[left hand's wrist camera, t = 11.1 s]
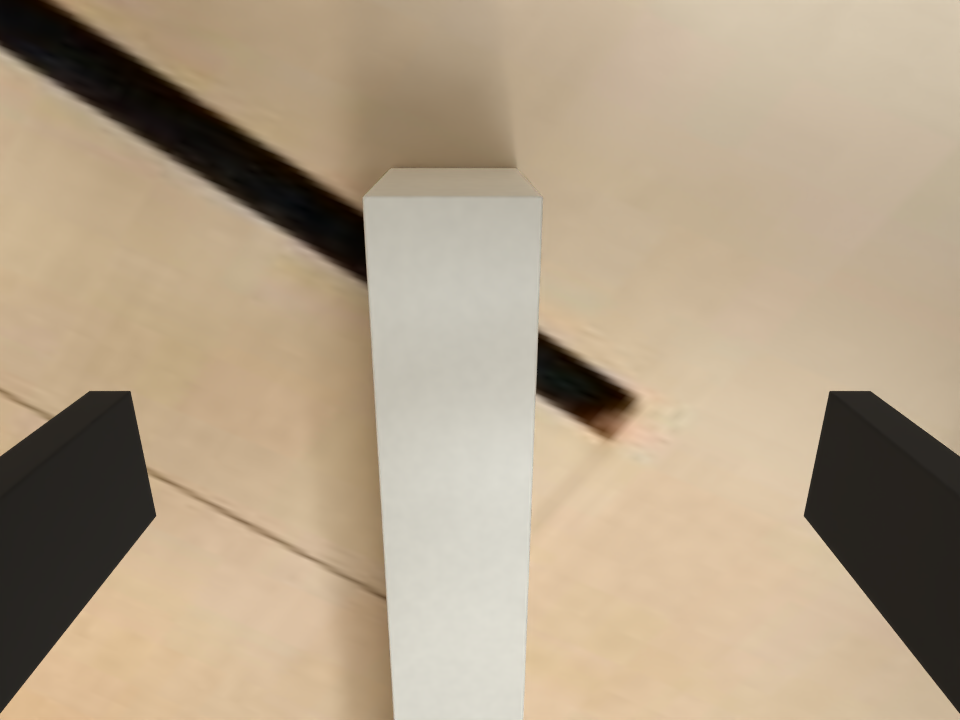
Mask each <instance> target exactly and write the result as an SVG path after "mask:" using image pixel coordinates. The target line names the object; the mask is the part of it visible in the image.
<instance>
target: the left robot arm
mask: <svg viewBox="0 0 960 720" xmlns="http://www.w3.org/2000/svg"><path fill="white" fill-rule="evenodd" d="M155 517H156V512H155V507H154V503H153V498H152V493H151V488H150V483H149V479H148V474H147V469H146V464H145V459H144V454H143V450H142V445H141V440H140V435H139V430H138V425H137V421H136V416H135V411H134V406H133V401H132V397H131V392H130V391H89V392H88V393H86V394H85V395H84V396H82V397H81V398H80V399H78V400H77V401H75V402H74V403H73V404H71V405H70V406H69V407H67V408H66V409H65V410H63V411H62V412H60V413H59V414H58V415H56V416H55V417H54V418H52V419H51V420H50V421H48V422H47V423H45V424H44V425H43V426H41V427H40V428H39V429H37V430H36V431H34V432H33V433H32V434H30V435H29V436H28V437H26V438H25V439H24V440H22V441H21V442H19V443H18V444H17V445H15V446H14V447H13V448H11V449H10V450H9V451H7V452H6V453H4V454H3V455H2V456H0V713H1V712H2V711H3V709H4V708H5V707H6V706H7V704H8V703H9V702H10V700H11V699H12V698H13V697H14V695H15V694H16V693H17V692H18V690H19V689H20V688H21V687H22V685H23V684H24V683H25V681H26V680H27V679H28V678H29V676H30V675H31V674H32V673H33V671H34V670H35V669H36V668H37V666H38V665H39V664H40V662H41V661H42V660H43V659H44V657H45V656H46V655H47V654H48V652H49V651H50V650H51V649H52V647H53V646H54V645H55V643H56V642H57V641H58V640H59V638H60V637H61V636H62V635H63V633H64V632H65V631H66V630H67V628H68V627H69V626H70V624H71V623H72V622H73V621H74V619H75V618H76V617H77V616H78V614H79V613H80V612H81V611H82V609H83V608H84V607H85V605H86V604H87V603H88V602H89V600H90V599H91V598H92V597H93V595H94V594H95V593H96V592H97V590H98V589H99V588H100V586H101V585H102V584H103V583H104V581H105V580H106V579H107V578H108V576H109V575H110V574H111V573H112V571H113V570H114V569H115V567H116V566H117V565H118V564H119V562H120V561H121V560H122V559H123V557H124V556H125V555H126V553H127V552H128V551H129V550H130V548H131V547H132V546H133V545H134V543H135V542H136V541H137V540H138V538H139V537H140V536H141V534H142V533H143V532H144V531H145V529H146V528H147V527H148V526H149V524H150V523H151V522H152V521H153V519H154V518H155ZM804 517H805V518H806V519H807V521H808V522H809V523H810V524H811V526H812V527H813V528H814V529H815V531H816V532H817V533H818V534H819V536H820V537H821V538H822V540H823V541H824V542H825V543H826V545H827V546H828V547H829V548H830V550H831V551H832V552H833V553H834V555H835V556H836V557H837V559H838V560H839V561H840V562H841V564H842V565H843V566H844V567H845V569H846V570H847V571H848V572H849V574H850V575H851V576H852V578H853V579H854V580H855V581H856V583H857V584H858V585H859V586H860V588H861V589H862V590H863V592H864V593H865V594H866V595H867V597H868V598H869V599H870V600H871V602H872V603H873V604H874V605H875V607H876V608H877V609H878V611H879V612H880V613H881V614H882V616H883V617H884V618H885V619H886V621H887V622H888V623H889V624H890V626H891V627H892V628H893V630H894V631H895V632H896V633H897V635H898V636H899V637H900V638H901V640H902V641H903V642H904V643H905V645H906V646H907V647H908V649H909V650H910V651H911V652H912V654H913V655H914V656H915V657H916V659H917V660H918V661H919V662H920V664H921V665H922V666H923V668H924V669H925V670H926V671H927V673H928V674H929V675H930V676H931V678H932V679H933V680H934V681H935V683H936V684H937V685H938V687H939V688H940V689H941V690H942V692H943V693H944V694H945V695H946V697H947V698H948V699H949V700H950V702H951V703H952V704H953V706H954V707H955V708H956V709H957V711H958V712H959V713H960V456H958V455H957V454H956V453H954V452H953V451H951V450H950V449H949V448H947V447H946V446H945V445H943V444H942V443H941V442H939V441H938V440H936V439H935V438H934V437H932V436H931V435H930V434H928V433H927V432H926V431H924V430H923V429H921V428H920V427H919V426H917V425H916V424H915V423H913V422H912V421H910V420H909V419H908V418H906V417H905V416H904V415H902V414H901V413H900V412H898V411H897V410H895V409H894V408H893V407H891V406H890V405H889V404H887V403H886V402H885V401H883V400H882V399H880V398H879V397H878V396H876V395H875V394H874V393H872V392H871V391H830V392H829V397H828V401H827V406H826V411H825V416H824V421H823V425H822V430H821V435H820V440H819V445H818V450H817V454H816V459H815V464H814V469H813V474H812V479H811V483H810V488H809V493H808V498H807V503H806V508H805V512H804Z"/></svg>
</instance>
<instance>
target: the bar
mask: <svg viewBox="0 0 960 720" xmlns="http://www.w3.org/2000/svg"><path fill="white" fill-rule="evenodd" d="M362 200H363V216H364V233H365V250H366V266H367V283H368V300H369V316H370V333H371V350H372V366H373V383H374V399H375V416H376V433H377V449H378V466H379V483H380V499H381V516H382V533H383V549H384V566H385V582H386V599H387V616H388V632H389V649H390V666H391V682H392V699H393V716H394V720H523V716H524V690H525V663H526V637H527V610H528V584H529V558H530V531H531V505H532V479H533V452H534V426H535V399H536V373H537V347H538V320H539V294H540V267H541V241H542V215H543V197H542V195H541V194H540V193H539V192H538V191H537V190H536V189H535V188H534V186H533V185H532V184H531V183H530V182H529V181H528V180H527V179H526V178H525V176H524V175H523V174H522V173H521V172H520V171H519V170H518V169H517V168H390V169H389V170H388V171H387V172H386V173H385V174H384V175H383V177H382V178H381V179H380V180H379V181H378V182H377V183H376V184H375V185H374V186H373V187H372V188H371V189H370V190H369V191H368V192H367V193H366V194H365V195H364V196H363V198H362Z"/></svg>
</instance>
